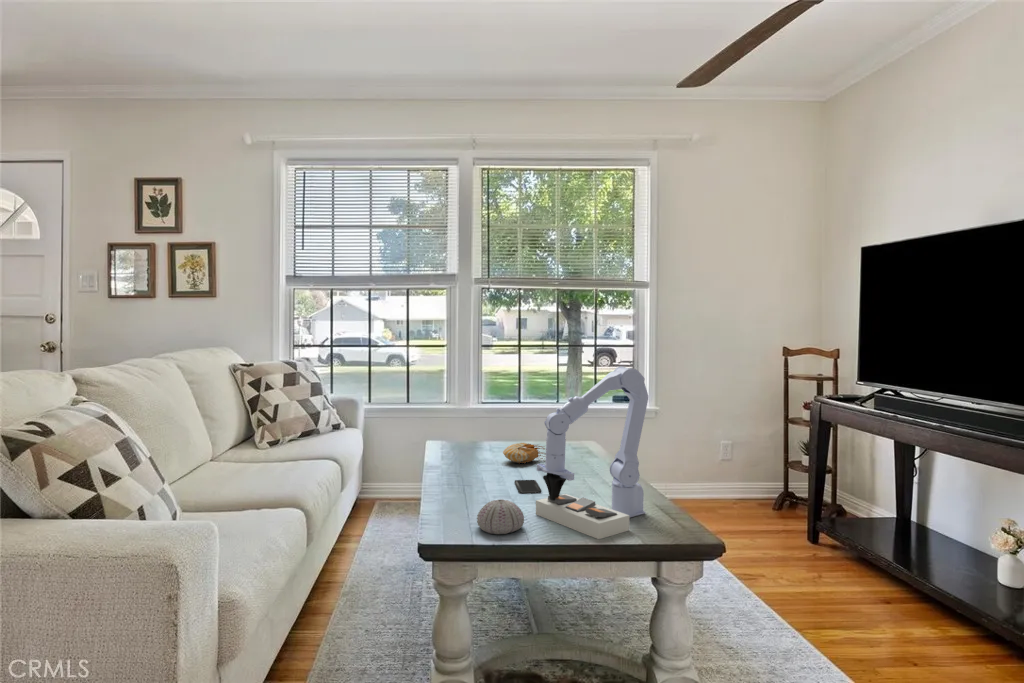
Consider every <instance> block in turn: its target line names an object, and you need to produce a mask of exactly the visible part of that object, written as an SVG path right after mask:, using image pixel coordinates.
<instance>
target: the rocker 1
mask: <svg viewBox="0 0 1024 683" xmlns="http://www.w3.org/2000/svg"><path fill="white" fill-rule="evenodd" d="M567 495H568V494H567ZM567 495H563V494H559V498H555V501H552V500H550V497H549V495H548V496H547V498H548V500H550V501H552V502H555V503H558V504H567V503H572V502H575V501H577V499H576V498H577V497H576V498H573V497H574V496H573V497H570V496H571V495H570V496H567Z"/></svg>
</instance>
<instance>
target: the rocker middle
mask: <svg viewBox="0 0 1024 683" xmlns="http://www.w3.org/2000/svg"><path fill="white" fill-rule="evenodd" d="M596 504H597V503H596V501H595V500H591V499H590V498H589V499H588V498H586V497H581V498H579V500H577V501H575V502H573V503H571V504H569V505H567V506H566V508H567V509H570V510H572V511H575V512H581V511H585V510H586V508H592V507H594V506H595V505H596Z"/></svg>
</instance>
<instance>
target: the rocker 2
mask: <svg viewBox="0 0 1024 683" xmlns="http://www.w3.org/2000/svg"><path fill="white" fill-rule="evenodd" d="M586 513H589V514H592V515H595V516H597V517H605V518H607V517H611V516H615V515H617V513H614V512H612V511H609V510H606V509H597V508H586Z"/></svg>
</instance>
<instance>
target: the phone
mask: <svg viewBox="0 0 1024 683" xmlns="http://www.w3.org/2000/svg"><path fill="white" fill-rule="evenodd" d="M514 485H515V487H516V490H517V492H518V494H542V488H541V487H540V485H539V484H538V482H537V480H536V479H518V480H517V479H515V480H514Z"/></svg>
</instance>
